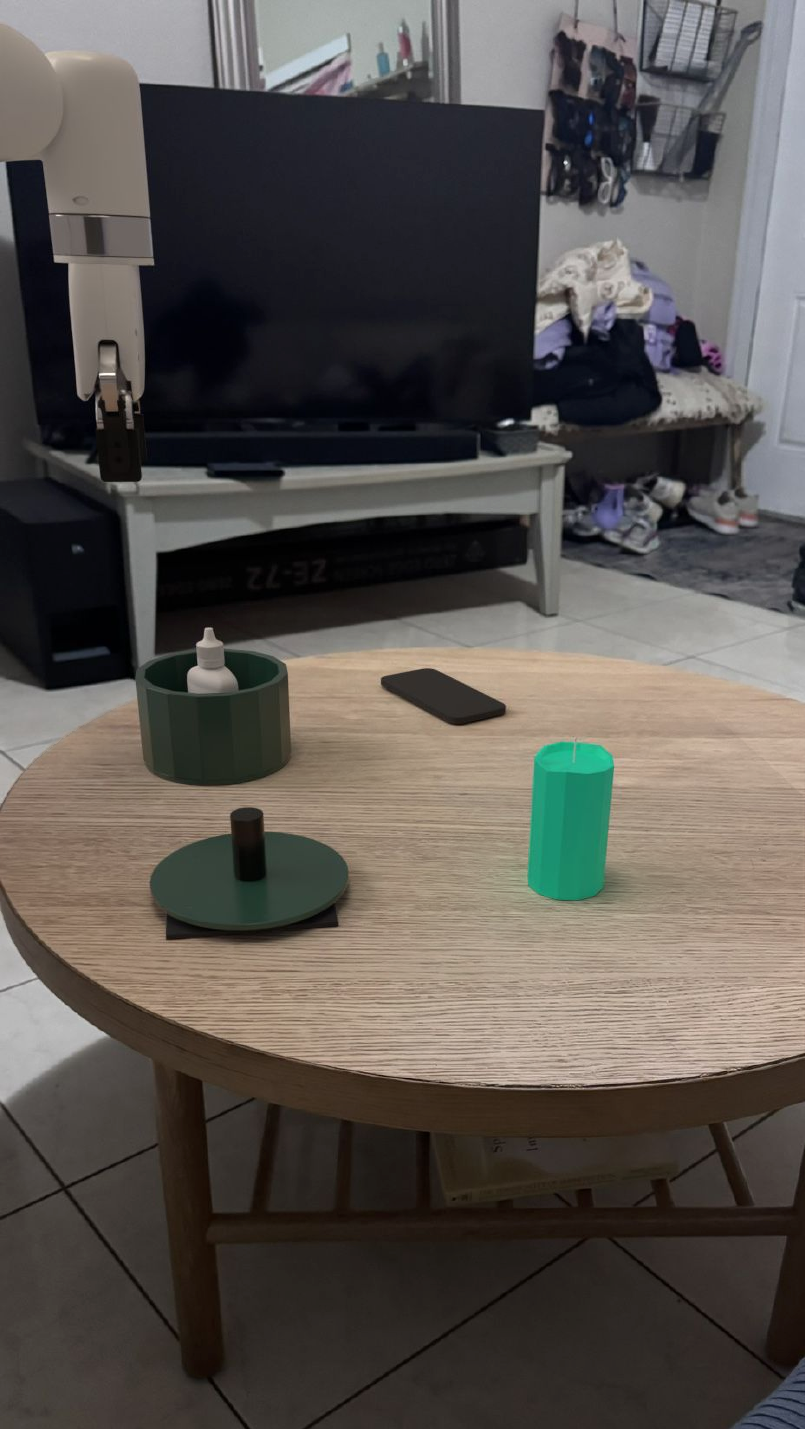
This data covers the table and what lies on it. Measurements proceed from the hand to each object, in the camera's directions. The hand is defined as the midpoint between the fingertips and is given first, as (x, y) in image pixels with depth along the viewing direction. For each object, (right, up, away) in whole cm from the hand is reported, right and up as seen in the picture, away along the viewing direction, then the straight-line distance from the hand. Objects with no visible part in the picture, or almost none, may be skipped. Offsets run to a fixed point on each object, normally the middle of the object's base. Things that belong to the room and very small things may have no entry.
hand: (125, 470), depth 98 cm
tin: (+5, -23, +13) cm, 27 cm away
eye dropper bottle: (+5, -23, +13) cm, 27 cm away
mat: (+13, -35, -10) cm, 39 cm away
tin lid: (+13, -34, -11) cm, 38 cm away
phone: (+26, -16, +29) cm, 42 cm away
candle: (+36, -34, -8) cm, 51 cm away
